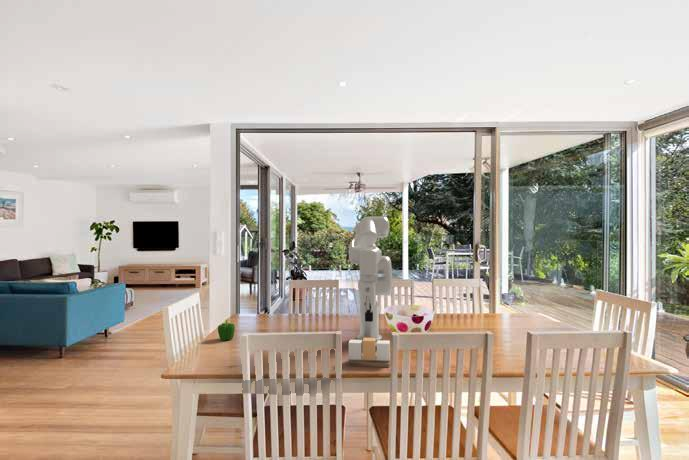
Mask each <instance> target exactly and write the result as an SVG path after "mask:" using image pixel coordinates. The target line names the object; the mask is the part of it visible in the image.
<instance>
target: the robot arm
mask: <svg viewBox="0 0 689 460" xmlns="http://www.w3.org/2000/svg"><path fill="white" fill-rule="evenodd" d="M390 228H391V227H390V221H389V219H388V218H387V217H386V216H384V215H383V216H382V215H381V216H365V217H363V218H361V219H360V221H359V222H357V223H356V224H355V225H354V232H355V237H353V238H352V240H350V242H349V247H348V259H349V262H350V263H351V264H352V265H359V279H358V280H357V288H358V289H357V290H358V296H359V328H360V330H359V334H358V335H357V336H356V339H363V338H375V342H377V340H382V338H383V336H382V335H381V334H380V332H379V331H380V327H379V317H380V316H379V303H378V300H377V296H390V295H392V291H393V270H392V260H391V257H389V256H387V255H383V254H382V251H381V249H380V248H379V247H378V246H377V245H376V242H377V241H378V239H383V238H384V239H385V238H387V237H388V236H389V235H390V234H389V233H390V230H391V229H390ZM378 275H382V276H378Z"/></svg>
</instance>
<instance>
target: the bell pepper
mask: <svg viewBox="0 0 689 460" xmlns="http://www.w3.org/2000/svg"><path fill="white" fill-rule="evenodd" d="M228 321H229V319H225V323H221V324H219V325H218V326H217V332H218V336H219V339H220V341H223V340H224V341H231V340H233V338H234V336H235V331H236V330H235V329H236V328H235V327H236V326H235V324H234V323H230V322H228Z"/></svg>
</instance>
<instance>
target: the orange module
mask: <svg viewBox="0 0 689 460" xmlns="http://www.w3.org/2000/svg"><path fill="white" fill-rule="evenodd" d="M376 346H377V344H376V341H375V338H363V352H362V356H363V360H375V357H376V356H377V351H376Z"/></svg>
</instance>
